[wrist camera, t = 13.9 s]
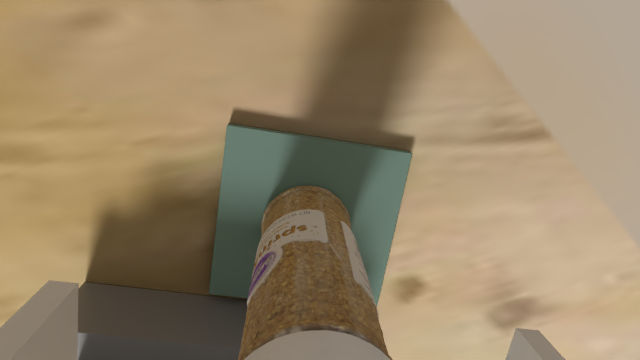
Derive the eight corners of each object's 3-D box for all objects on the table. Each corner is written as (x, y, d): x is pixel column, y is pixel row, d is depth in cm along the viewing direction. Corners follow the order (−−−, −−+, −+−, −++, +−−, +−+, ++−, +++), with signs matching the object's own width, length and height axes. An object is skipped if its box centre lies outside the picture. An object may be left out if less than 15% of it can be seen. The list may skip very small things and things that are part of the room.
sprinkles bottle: (275, 172, 21) (240, 364, 8) (363, 198, 21) (462, 415, 9) (250, 254, 22) (184, 538, 9) (334, 276, 23) (384, 572, 10)
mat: (210, 287, 23) (208, 293, 22) (228, 123, 21) (227, 125, 20) (373, 306, 24) (375, 312, 23) (409, 151, 22) (412, 153, 21)
